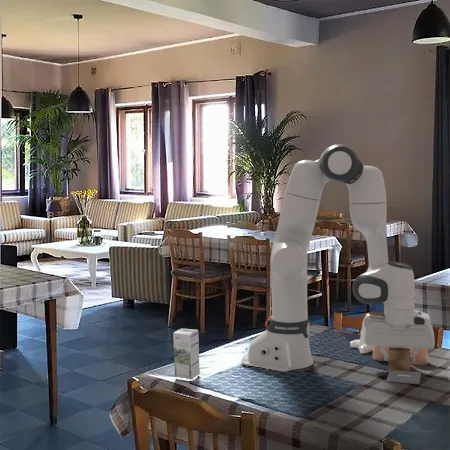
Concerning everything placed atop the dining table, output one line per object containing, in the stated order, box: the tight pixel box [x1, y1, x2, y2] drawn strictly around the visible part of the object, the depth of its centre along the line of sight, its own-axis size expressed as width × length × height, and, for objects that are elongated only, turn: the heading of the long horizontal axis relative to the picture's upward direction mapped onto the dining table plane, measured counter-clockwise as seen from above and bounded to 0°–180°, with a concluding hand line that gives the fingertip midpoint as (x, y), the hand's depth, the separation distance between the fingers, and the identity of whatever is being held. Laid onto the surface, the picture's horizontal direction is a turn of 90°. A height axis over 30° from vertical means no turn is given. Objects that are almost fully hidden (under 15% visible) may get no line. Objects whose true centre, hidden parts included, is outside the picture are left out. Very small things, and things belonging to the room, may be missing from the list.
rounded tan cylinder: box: [372, 346, 389, 362], centre depth 216 cm, size 6×6×5 cm
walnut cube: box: [387, 347, 411, 371], centre depth 205 cm, size 6×6×6 cm
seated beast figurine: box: [349, 313, 373, 354], centre depth 226 cm, size 10×9×12 cm
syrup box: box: [172, 328, 201, 379], centre depth 200 cm, size 6×6×14 cm
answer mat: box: [386, 370, 422, 385], centre depth 196 cm, size 9×9×1 cm
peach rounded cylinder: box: [410, 348, 429, 366], centre depth 210 cm, size 6×6×5 cm
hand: (399, 361), depth 205 cm, fingers closed on walnut cube, 6 cm apart
